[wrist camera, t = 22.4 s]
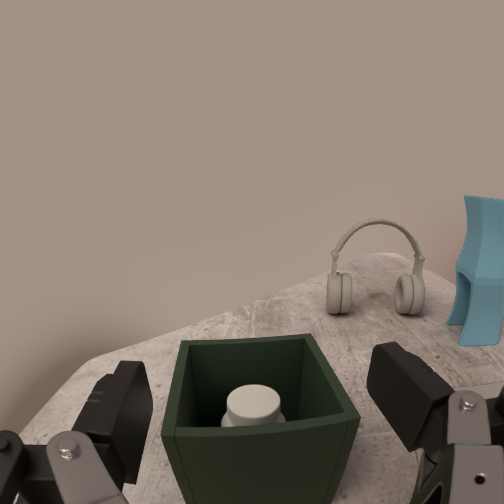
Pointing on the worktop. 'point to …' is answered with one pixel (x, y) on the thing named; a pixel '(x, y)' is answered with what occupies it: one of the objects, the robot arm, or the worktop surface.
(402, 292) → the headphones
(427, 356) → the worktop surface
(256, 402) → the pill bottle
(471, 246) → the blue two-legged arch
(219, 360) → the trash bin
